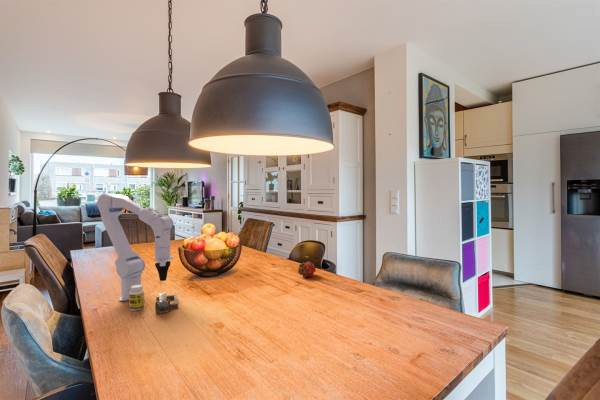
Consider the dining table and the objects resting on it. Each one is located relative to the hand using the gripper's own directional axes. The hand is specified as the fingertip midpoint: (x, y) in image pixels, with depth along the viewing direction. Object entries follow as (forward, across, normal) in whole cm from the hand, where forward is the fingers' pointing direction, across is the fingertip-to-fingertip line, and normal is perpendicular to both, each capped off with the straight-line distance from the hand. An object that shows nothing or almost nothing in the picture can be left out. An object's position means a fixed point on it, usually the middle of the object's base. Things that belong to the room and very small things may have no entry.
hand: (163, 280), depth 122 cm
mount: (+8, -7, -1) cm, 11 cm away
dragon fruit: (+8, +8, -68) cm, 69 cm away
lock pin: (+7, -10, 0) cm, 12 cm away
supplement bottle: (+8, -6, +9) cm, 14 cm away
